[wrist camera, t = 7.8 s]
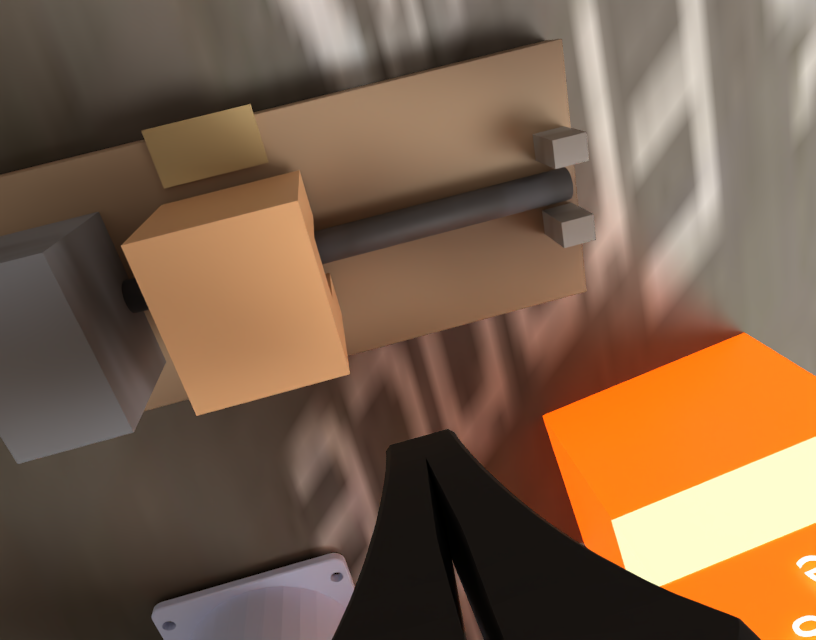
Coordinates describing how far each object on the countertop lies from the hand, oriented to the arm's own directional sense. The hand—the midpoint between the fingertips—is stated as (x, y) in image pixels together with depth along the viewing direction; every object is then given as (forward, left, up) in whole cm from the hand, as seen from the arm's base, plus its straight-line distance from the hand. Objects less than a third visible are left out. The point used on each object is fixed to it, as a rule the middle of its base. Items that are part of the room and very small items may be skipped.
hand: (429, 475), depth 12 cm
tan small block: (+3, +3, -8) cm, 9 cm away
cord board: (+3, +1, -9) cm, 10 cm away
